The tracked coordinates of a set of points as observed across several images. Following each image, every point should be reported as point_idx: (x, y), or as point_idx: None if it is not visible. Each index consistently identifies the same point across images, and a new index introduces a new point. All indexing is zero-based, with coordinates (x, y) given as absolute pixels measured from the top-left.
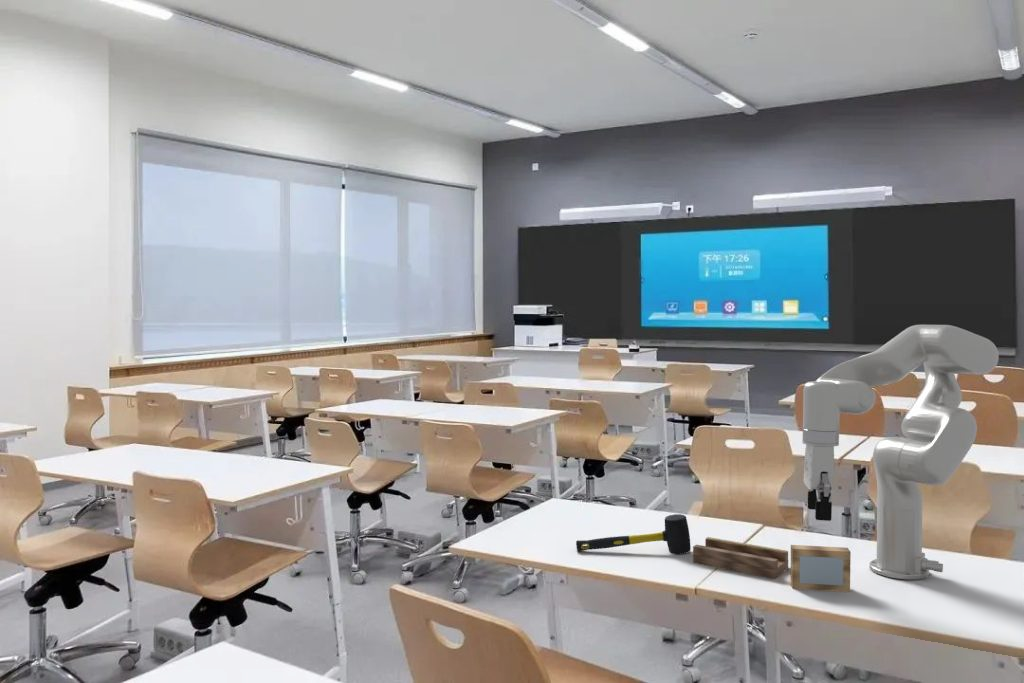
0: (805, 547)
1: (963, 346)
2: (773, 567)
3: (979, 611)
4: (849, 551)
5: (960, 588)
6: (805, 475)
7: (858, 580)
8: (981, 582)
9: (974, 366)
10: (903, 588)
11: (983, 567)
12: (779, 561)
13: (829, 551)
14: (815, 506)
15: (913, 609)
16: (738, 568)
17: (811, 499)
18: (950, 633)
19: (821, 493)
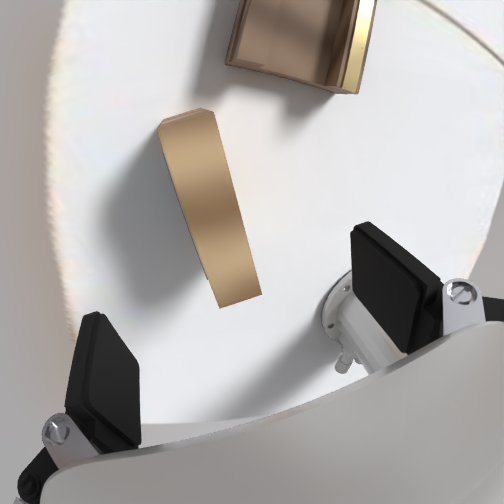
0: (200, 172)
1: None
2: (233, 56)
3: (210, 400)
4: (221, 305)
5: (303, 374)
6: (421, 502)
7: (295, 251)
8: (336, 382)
9: None
10: (275, 322)
11: None
12: (319, 70)
13: (199, 253)
14: (83, 369)
15: (165, 347)
16: None
17: (385, 274)
18: None
19: (22, 488)
